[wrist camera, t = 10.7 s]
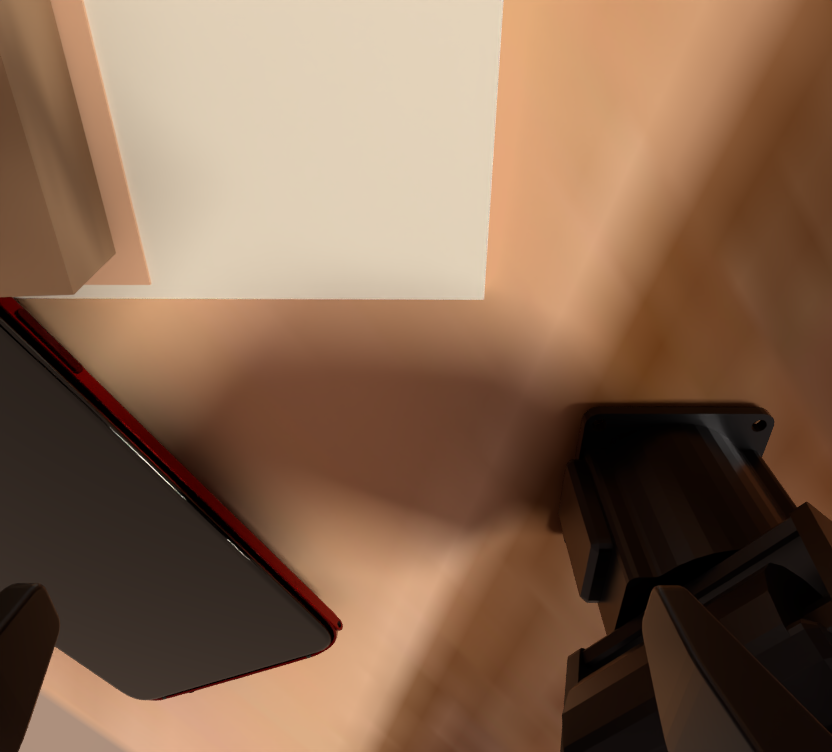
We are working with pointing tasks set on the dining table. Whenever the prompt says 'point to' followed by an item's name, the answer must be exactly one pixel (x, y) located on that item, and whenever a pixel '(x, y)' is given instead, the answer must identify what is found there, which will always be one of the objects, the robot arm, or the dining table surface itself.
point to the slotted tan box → (44, 164)
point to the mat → (288, 145)
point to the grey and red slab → (132, 538)
